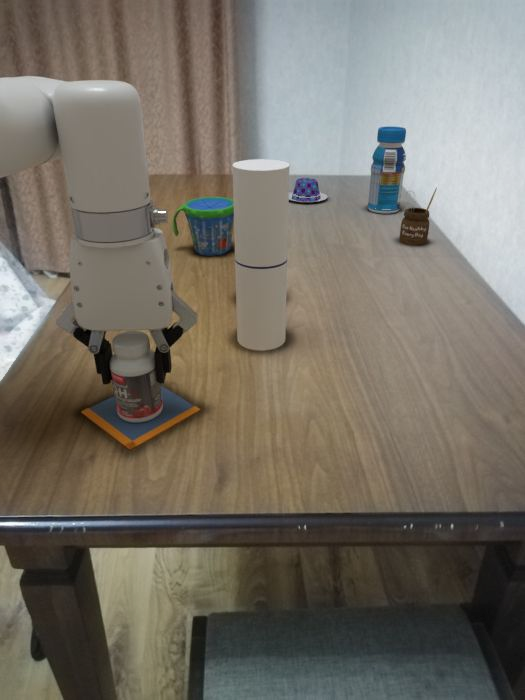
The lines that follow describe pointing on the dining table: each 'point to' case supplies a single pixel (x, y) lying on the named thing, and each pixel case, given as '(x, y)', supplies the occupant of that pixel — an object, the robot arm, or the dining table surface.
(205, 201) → the snack cup
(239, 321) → the cylindrical container
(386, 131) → the beverage bottle
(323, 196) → the purple patterned hat
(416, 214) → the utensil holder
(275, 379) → the dining table surface
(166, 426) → the corner pad
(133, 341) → the pill bottle
